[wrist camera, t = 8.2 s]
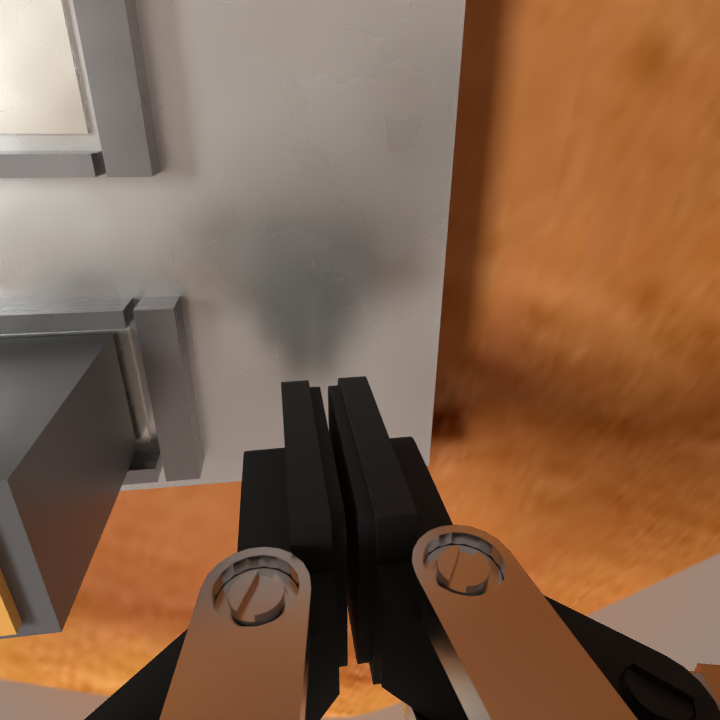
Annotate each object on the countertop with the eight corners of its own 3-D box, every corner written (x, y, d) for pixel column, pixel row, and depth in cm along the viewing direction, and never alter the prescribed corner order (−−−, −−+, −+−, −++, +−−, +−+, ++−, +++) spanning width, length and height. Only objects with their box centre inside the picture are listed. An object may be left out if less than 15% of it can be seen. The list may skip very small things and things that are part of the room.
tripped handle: (112, 333, 11) (-1, 490, 7) (137, 447, 13) (56, 643, 8) (-37, 341, 11) (-265, 511, 6) (4, 457, 12) (-161, 668, 8)
